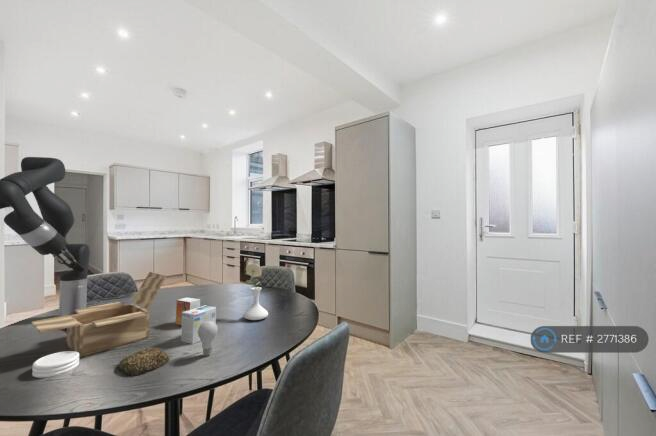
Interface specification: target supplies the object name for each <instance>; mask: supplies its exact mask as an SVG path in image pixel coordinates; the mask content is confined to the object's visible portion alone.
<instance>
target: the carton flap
mask: <svg viewBox="0 0 656 436" xmlns="http://www.w3.org/2000/svg"><path fill="white" fill-rule="evenodd" d="M167 277H168V276H166V275H164V274H160V273H155V272H153V271H152V272H151V271H149V272H148V274H147V276H146V277H145V279H144V281H143V282H142V284H141V286H140V287H139V289H138V290H137V292H136V294H135V295H134V297H133V298H132V300H131V302H132V304H135V305H137V306H138V305H139V307H141V308H144V309H146V310H147V309H149V308H150V307H151V305H152V303H153V301H154V299H156V296H157V294H158V292H159V291H160V289H161V288H162V286H163V284H164V282H165V280H166V278H167Z"/></svg>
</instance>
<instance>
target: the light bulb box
mask: <svg viewBox="0 0 656 436" xmlns="http://www.w3.org/2000/svg"><path fill="white" fill-rule="evenodd" d="M206 321H212V322H214V323H215V324H216V323H217V307H216V306H210V305H206V304H205V305H200V307H198V308H194V309H191V310H188V311H185V312H182V325H181V337H180V339H181V340H180V341H181V342H184V343H188V344H191V345H193V344H196V343H198V342H199V343H200V342H201V339H200V338H199V336H198V329H199V327H200V325H201V324H202V323H204V322H206ZM216 325H217V324H216Z"/></svg>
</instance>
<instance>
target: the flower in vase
mask: <svg viewBox="0 0 656 436" xmlns="http://www.w3.org/2000/svg"><path fill="white" fill-rule="evenodd" d="M245 271H246V273H247V274H248V275H249V276H250V277H251V280H250V279H247V280H246V281H245V282H244V284H247V285H252V286H253V287H251V288H250V290H251V292H252V295H253V304H252V305H251V306H250V307H249V308H248V309H246V310H245V311H244V312H243V314H242V317H243V319H245V320H249V321H258V320H262V319H263V320H264V319H265V318H267V317H268V316H269V312H268V310H267V309H266V308H265V307H263V306H262V305H261V304H260V301H259V300H260V299H259V298H260V293H261V290H262V289H263V288H262V287H260V286H257V285H259V284H261V281H258V282H257V283H255V284H254V282H253V278H259V277H261V276H262V273H263V270H262V268H261V267H260V266H259V265H257V263H249V264H247V265H245Z"/></svg>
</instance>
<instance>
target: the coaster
mask: <svg viewBox="0 0 656 436" xmlns="http://www.w3.org/2000/svg"><path fill="white" fill-rule="evenodd" d="M79 364H80V358H79V353H78V352H75V351H72V350H66V351H58V352H55V353H51V354H47V355H44V356H42V357H40V358H38V359H37V360H35V361H34V362H33V363H32V369H31V370H32V373H31V376H32V377H33V378H38V379H40V378H41V379H45V378H46V379H47V378H51V377H56V376H59V375H60V376H61V375H63V374H66V373H69V372H70V371H73V370H74V369H76V368H77V367H78V366H79Z"/></svg>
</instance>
